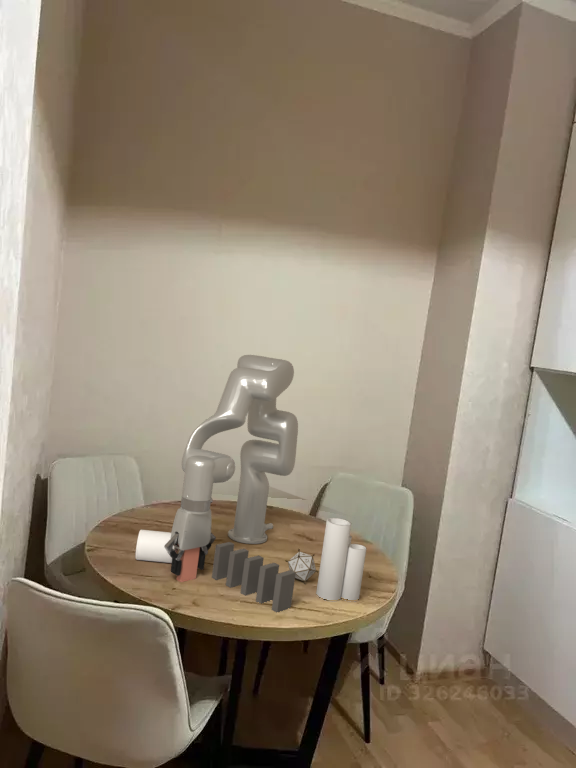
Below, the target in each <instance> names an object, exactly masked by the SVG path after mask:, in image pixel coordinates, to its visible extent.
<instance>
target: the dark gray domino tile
mask: <svg viewBox="0 0 576 768" xmlns="http://www.w3.org/2000/svg"><path fill="white" fill-rule="evenodd" d="M249 551H250V550H248V549H247V548H240V549H236V550H234V551H231V552H230V557H229V564H228V572H227V577H226V581H225V586H226V587H228V588H230V589H231V588H235V587H238V586H241V584H242V577H243V569H244V562H245V559H246V558H249Z"/></svg>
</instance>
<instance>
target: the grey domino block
mask: <svg viewBox="0 0 576 768" xmlns="http://www.w3.org/2000/svg"><path fill="white" fill-rule="evenodd" d="M295 574H296V573H295V572H293V571H291V570H286V571H283V572H280V573H279V572H278V574H277V575H276V582H275V589H274V596H273V600H272V605H271V611H273V612H275V613H277V612H278V613H280V611H281V612H284V611H286V610H289V609H291V608H292V603H293V602H292V601H293V595H294V587H295V583H296V582H295V581H296V578H295ZM290 607H291V608H290ZM288 608H289V609H288ZM283 610H284V611H283Z"/></svg>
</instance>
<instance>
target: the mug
mask: <svg viewBox="0 0 576 768" xmlns="http://www.w3.org/2000/svg"><path fill="white" fill-rule="evenodd" d="M170 538H171V532H169V531H168V532H167V531H157V530H148V529H140V530H139V532H138V534H137V540H136V546H135V547H136V548H135V554H134V555H135V559H136V560H138V561H147V562H148V561H149V562H158V563H169V564H172V558H171V557H170V555H169V554H168V552H167V551H166V549H165V547H164V546H165V544H166V543H167V542H168V541H169V540H170ZM174 547H175V546H173V549H174Z"/></svg>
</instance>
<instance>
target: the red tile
mask: <svg viewBox="0 0 576 768" xmlns="http://www.w3.org/2000/svg"><path fill="white" fill-rule="evenodd" d="M199 550H200V547H199V548H194V549H189V550H185V551H184V553H183V555H182V557H181V559H180V560H182V566H181V574H180V575H179V576H177V575H176V581H178V582H179V583H183V582H188V581H192V580H195V579H196V578H197V573H198V568H197V566H198V558H199Z"/></svg>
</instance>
